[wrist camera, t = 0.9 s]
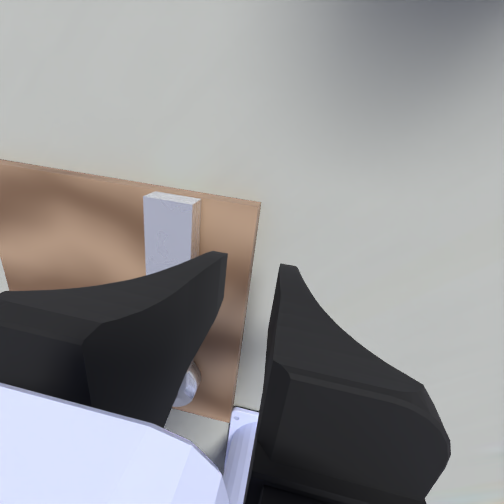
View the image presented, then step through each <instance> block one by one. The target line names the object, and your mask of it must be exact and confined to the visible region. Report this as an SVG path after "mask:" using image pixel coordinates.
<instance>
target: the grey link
mask: <svg viewBox="0 0 504 504" xmlns="http://www.w3.org/2000/svg"><path fill="white" fill-rule="evenodd" d="M143 210H144V236H145V263H146V275H149V274H153V273H156V272H159V271H162V270H164V269H167V268H170V267H173V266H175V265H178V264H181V263H183V262H186V261H188V260H190V259H193V258H195V257H197V256H199V240H200V220H201V199H199V198H193V197H187V196H181V195H175V194H169V193H163V192H157V191H155V192H152V193H150V194H147V195H145V196H143ZM200 381H201V373H200V370H199V368H198V367H197V365H196V364H195V363H194V359H193V361H192V362H191V364H190V366H189V368H188V370H187V372H186V374H185V377H184V379H183V382H182V384H181V386H180V389H179V391H178V396H177V398H176V400H175V402H174V404H173V406H172V407H181V406H185V405H187V404H189V403H190V402H191V401H192V399H193V398H194V395H195V393H196V391H197V388H198V386H199V384H200Z"/></svg>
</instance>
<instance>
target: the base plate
mask: <svg viewBox="0 0 504 504" xmlns="http://www.w3.org/2000/svg"><path fill="white" fill-rule="evenodd" d="M155 191H157V192H163V193H169V194H175V195H181V196H187V197H193V198H199V199H201V220H200V240H199V256H200V255H202V254H205V253H207V252H210V251H217V252H222V253H228V258H227V268H226V279H225V289H224V298H223V301H222V304H221V307H220V309H219V312H218V314H217V317H216V319H215V321H214V323H213V325H212V326H211V328H210V330H209V332H208V334H207V335H206V337H205V339H204V341H203V343H202V344H201V346H200V348H199V350H198V352H197V353H196V355H195V357H194V363H195V364H196V365H197V367H198V368H199V370H200V373H201V381H200V384H199V386H198V388H197V391H196V393H195V395H194V398H193V399H192V401H191V402H190V403H189V404H187V405H185V406H181V407H172V408H174V409H177V410H181V411H185V412H189V413H193V414H197V415H201V416H204V417H208V418H212V419H216V420H220V421H224V422H228V423H229V422H230V419H231V414H232V410H233V404H234V397H235V390H236V382H237V375H238V368H239V360H240V353H241V346H242V339H243V331H244V324H245V317H246V309H247V302H248V295H249V288H250V280H251V273H252V266H253V258H254V251H255V244H256V236H257V229H258V222H259V215H260V207H261V202H255V201H249V200H243V199H237V198H231V197H224V196H218V195H212V194H206V193H200V192H194V191H188V190H182V189H176V188H170V187H164V186H158V185H152V184H146V183H140V182H134V181H128V180H122V179H116V178H110V177H104V176H98V175H91V174H85V173H79V172H73V171H67V170H61V169H55V168H49V167H43V166H37V165H31V164H25V163H19V162H13V161H7V160H1V159H0V257H1V261H2V265H3V268H4V272H5V276H6V279H7V283H8V287H9V290H10V291H30V290H56V289H69V288H80V287H89V286H97V285H103V284H108V283H114V282H120V281H125V280H130V279H134V278H138V277H142V276H146V263H145V236H144V210H143V196H145V195H147V194H150V193H152V192H155ZM177 396H178V393H177ZM177 396H176V398H177ZM176 398H175V400H176ZM175 400H174V402H175ZM173 404H174V403H173ZM172 406H173V405H172Z"/></svg>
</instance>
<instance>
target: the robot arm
mask: <svg viewBox="0 0 504 504" xmlns="http://www.w3.org/2000/svg"><path fill="white" fill-rule="evenodd" d="M227 258H228V253H222V252H217V251H210V252H207V253H205V254H202V255H200V256H197V257H195V258H193V259H190V260H188V261H186V262H183V263H181V264H178V265H175V266H173V267H170V268H167V269H164V270H162V271H159V272H156V273H153V274H149V275H146V276H142V277H138V278H134V279H130V280H125V281H120V282H114V283H108V284H103V285H97V286H89V287H80V288H69V289H56V290H30V291H4V292H2V293H0V504H426V501H425V497H426V496H427V494H428V493H429V491H430V490H431V488H432V487H433V485H434V484H435V482H436V481H437V479H438V478H439V476H440V475H441V473H442V472H443V470H444V469H445V467H446V465H447V463H448V460H449V458H450V455H451V449H450V439H449V437H448V435H447V433H446V431H445V428H444V426H443V424H442V422H441V419H440V417H439V415H438V412H437V410H436V408H435V406H434V404H433V402H432V400H431V398H430V396H429V395H428V393H427V391H426V389H425V387H424V385H423V384H421V383H419V382H418V381H416V380H414V379H413V378H411V377H409V376H408V375H406V374H404V373H402V372H401V371H399V370H397V369H396V368H394V367H392V366H391V365H389V364H387V363H386V362H384V361H383V360H381V359H380V358H378V357H377V356H376V355H374V354H373V353H371V352H370V351H368V350H367V349H366V348H364V347H363V346H362V345H360V344H359V343H358V342H357V341H355V340H354V339H353V338H352V337H351V336H349V335H348V334H347V333H346V332H345V331H344V330H343V329H341V328H340V327H339V326H338V325H337V324H336V323H335V322H334V321H333V320H332V319H331V318H330V316H329V315H328V314H327V313H326V312H325V311H324V310H323V309H322V308H321V306H320V305H319V304H318V302H317V301H316V300H315V298H314V297H313V295H312V294H311V292H310V290H309V289H308V287H307V285H306V284H305V282H304V280H303V278H302V276H301V274H300V272H299V270H298V268H297V267H296V266H291V265H286V264H280V267H279V272H278V278H277V284H276V289H275V295H274V300H273V306H272V311H271V317H270V322H269V328H268V338H267V350H266V363H265V376H264V386H263V393H262V399H261V405H260V410H259V412H255V411H251V410H247V409H243V408H239V407H235V408H233V410H232V414H231V421H230V428H229V436H228V443H227V451H226V458H225V465H224V469H225V470H224V474H223V477H222V474H221V472H220V471H219V469H218V467H217V465H215V464H214V463H213V462H212V461H211V460H210V459H209V458H208V457H207V456H206V455H205V454H204V453H203V452H202V451H201V450H200V449H199V448H198V447H197V446H196V445H195V444H194V443H193V442H192V441H190V440H188V439H186V438H184V437H182V436H179V435H177V434H175V433H173V432H171V431H168V430H166V429H164V425H165V423H166V420H167V418H168V415H169V413H170V410H171V408H172V405H173V403H174V400H175V398H176V396H177V393H178V391H179V389H180V386H181V384H182V382H183V379H184V377H185V374H186V372H187V370H188V368H189V366H190V364H191V362H192V361H193V359H194V357H195V355H196V353H197V352H198V350H199V348H200V346H201V344H202V343H203V341H204V339H205V337H206V335H207V334H208V332H209V330H210V328H211V326H212V325H213V323H214V321H215V319H216V317H217V314H218V312H219V309H220V307H221V304H222V301H223V298H224V289H225V279H226V268H227Z"/></svg>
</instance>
